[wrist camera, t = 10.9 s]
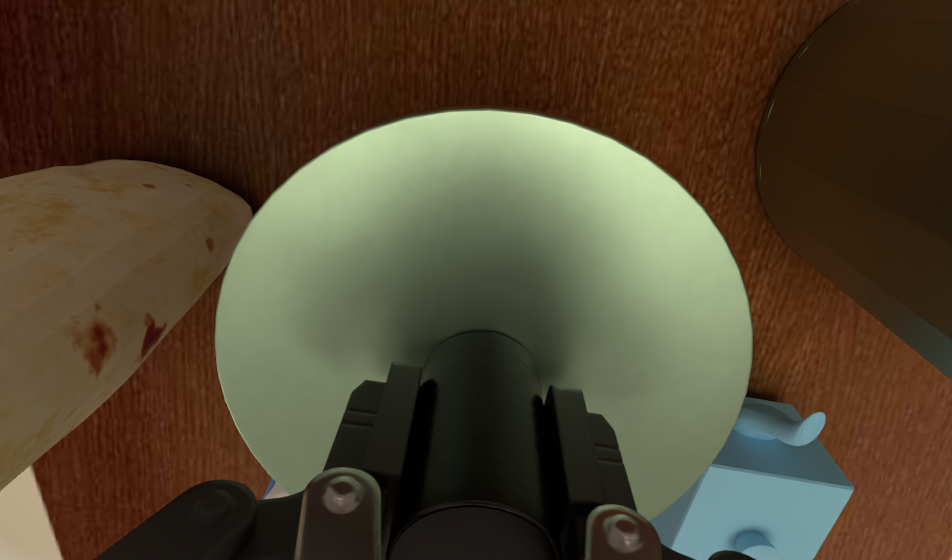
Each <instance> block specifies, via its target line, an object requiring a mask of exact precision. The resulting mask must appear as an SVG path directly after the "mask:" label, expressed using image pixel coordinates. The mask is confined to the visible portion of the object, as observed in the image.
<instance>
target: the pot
mask: <svg viewBox="0 0 952 560" xmlns="http://www.w3.org/2000/svg"><path fill="white" fill-rule="evenodd" d="M756 175H757V184H758V190H759V193H760V197H761V200H762V204H763V206H764V209H765V211H766V213H767V215H768V217H769V220H770V221H771V223H772V224H773V226H774V227H775V229H776V230H777V232H778V233H779V234H780V235H781V236H782V238H783V240H784V242H785V243H786V245H788V247H789V248H791V249H792V250H793V251H794V252H796V253H797V254H798V255H799V256H800V257H802V258H803V259H804V260H805V261H806V262H808V263H809V264H810V265H811V266H813V267H814V268H815V269H816V270H817V271H819V272H820V273H821V274H822V275H824V276H825V277H826V278H827V279H828V280H830V281H831V282H832V283H833V284H835V285H836V286H837V287H838V288H839V289H841V290H842V291H843V292H844V293H846V294H847V295H848V296H849V297H850V298H852V299H853V300H854V301H855V302H857V303H858V304H859V305H860V306H861V307H863V308H864V309H865V310H866V311H868V312H869V313H870V314H871V315H872V316H874V317H875V318H876V319H877V320H879V321H880V322H881V323H882V324H883V325H885V326H886V327H887V328H888V329H890V330H891V331H892V332H893V333H894V334H896V335H897V336H898V337H899V338H901V339H902V340H903V341H904V342H905V343H907V344H908V345H909V346H910V347H911V348H913V349H914V350H915V351H916V352H918V353H919V354H920V355H921V356H922V357H924V358H925V359H926V360H927V361H929V362H930V363H931V364H932V365H933V366H935V367H936V368H937V369H938V370H940V371H941V372H942V373H943V374H944V375H946V376H947V377H948V378H949V379H951V380H952V0H851V1H850V2H849V3H847V4H846V5H845V6H843V7H842V8H841V9H839V10H838V11H837V12H835V13H834V14H833V15H832V16H831V17H830V18H829V19H828V20H826V21H825V22H824V23H823V24H822V25H821V26H820V27H819V28H818V29H817V30H816V31H815V32H814V33H813V34H812V35H811V36H810V38H809V39H808V40H807V41H806V42H805V43H804V44H803V45H802V47H801V48H800V49H799V50H798V52H797V53H796V54H795V56H794V57H793V59H792V60H791V61H790V63H789V64H788V66H787V67H786V68H785V70H784V72H783V74H782V76H781V77H780V79H779V81H778V83H777V84H776V86H775V88H774V90H773V93H772V95H771V97H770V100H769V102H768V104H767V107H766V109H765V112H764V116H763V119H762V123H761V126H760V130H759V136H758V142H757V148H756Z"/></svg>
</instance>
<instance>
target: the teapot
mask: <svg viewBox="0 0 952 560" xmlns="http://www.w3.org/2000/svg"><path fill="white" fill-rule="evenodd" d="M825 420H826V416H825V414H824V413H822V412H816V413H813V414H811V415H810V416H808V417H806V418H805V419H804V420H803V418H802V417H801V416H800V414H799V413H798V412H797V410H796V409H795V408H794V406H793V405H790V404H784V403H778V402H773V401H767V400H761V399H755V398H749V397H745V399H744V401H743V404H742V407H741V410H740V413H739V416H738V419H737V421H736V423H735V425H734V427H733V429H732V431H731V433H730V435H729V437H728V439H727V441H726V442H725V444H724V446H723V447H722V449H721V450H720V452H719V453H718V455H717V456H716V458H715V459H714V460H713V462H712V463H711V465H710V466H709V468H708V469H707V470H706V471H705V472H704V473H703V475H702V476H701V477H700V478H699V479H698V480H697V481H696V482H695V483H694V484H693V486H692V487H691V488H690V489H689V490H688V491H687V492H686V493H685V494H683V495H682V496H681V497H680V498H679V499H678V500H676V501H675V502H674V503H673V504H672V505H671V506H670V507H668V508H667V509H666V510H665V511H663V512H662V513H660V514H659V515H657V516H656V517H654V518H653V519H651V520H650V521H649V522H650V523H651V524H652V525H653V527H654V528H655V530H656V531H657V533H658V535H659V538H660V542H661V543H662V544H663V545H665V546H667V547H668V548H670V549H672V550H674V551H676V552H678V553H681V554H683V555H686V556H688V557H691V558H693V559H696V560H708V559H709V557H710V556H711V555H712V554H714V553H715V552H718V551H723V550H731V551H737V552H740V553H743V554H746V555H748V556H750V557H752V558H754V559H756V560H813V558H814V556H815V555H816V553H817V551H818V550H819V548H820V547H821V545H822V543H823V542H824V540H825V538H826V537H827V535H828V533H829V532H830V530H831V528H832V527H833V525H834V523H835V522H836V520H837V518H838V517H839V515H840V513H841V511H842V510H843V508H844V506H845V505H846V503H847V501H848V500H849V498H850V496H851V494H852V492H853V490H854V487H853V485H852V484H851V483H850V481H849V480H848V479H847V477H846V476H845V475H844V473H843V472H842V471H841V469H840V468H839V466H838V465H837V464H836V462H835V461H834V460H833V458H832V457H831V456H830V454H829V453H828V452H827V450H826V449H825V448H824V446H823V445H822V444H821V442H820V441H819V440H818V438H817V436H818V435H819V433H820V432H821V430H822V429H823V427H824V424H825Z"/></svg>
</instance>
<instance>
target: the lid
mask: <svg viewBox="0 0 952 560" xmlns="http://www.w3.org/2000/svg"><path fill="white" fill-rule="evenodd" d="M214 343H215V352H216V361H217V370H218V375H219V379H220V382H221V386H222V390H223V394H224V398H225V401H226V403H227V406H228V408H229V410H230V413H231V415H232V417H233V420H234V422H235V424H236V427H237V429H238V430H239V432H240V434H241V435H242V437H243V439H244V440H245V442H246V444H247V445H248V447H249V449H250V450H251V452H252V453H253V455H254V456H255V457H256V458H257V460H258V461H259V462H260V464H261V465H262V466H263V467H264V469H265V470H266V471H267V473H268V474H269V475H270V476H271V477H272V478H273V479H274V480H275V481H276V482H277V483H278V484H279V485H280V486H281V487H282V488H283V489H284V490H285V491H286V492H287V493H288V494H289V495H293V494H296V493H298V492H301V491H303V490H304V489H305V488H306V486H307V484H308V483H309V482H310V481H311V480H312V479H313V478H314V477H315V476H317V475H318V474H320V473H322V471H323V469H324V466H325V464H326V461H327V458H328V456H329V453H330V450H331V447H332V445H333V442H334V439H335V436H336V434H337V431H338V428H339V425H340V423H341V420H342V417H343V415H344V412H345V410H346V406H347V404H348V401H349V398H350V395H351V393H352V391H353V390H354V389H356V388H357V387H358V386H359V385H360V384H361V383H363V382H364V381H365V380H371V381H378V382H385V383H386V380H387V377H388V373H389V370H390V366H391V363H392V362H398V363H405V364H411V365H418V366H423V367H422V375H421V382H420V389H419V394H418V399H417V404H416V409H415V415H414V420H413V425H412V430H411V435H410V441H409V446H408V451H407V456H406V461H405V467H404V472H403V477H402V482H401V487H400V493H399V498H398V503H397V508H396V511H395V513H394V516H393V521H392V525H391V531H390V536H389V541H388V546H387V551H386V560H563V557H562V549H561V541H560V533H559V525H558V517H557V509H556V501H555V493H554V485H553V476H552V468H551V460H550V452H549V444H548V436H547V428H546V420H545V412H544V403H545V399H546V395H547V391H548V388H549V386H550V385H553V386H559V387H566V388H573V389H580V390H582V392H583V396H584V400H585V404H586V409H587V412H589V413H596V414H602V416H603V417H604V418H605V419H606V420H607V422H608V423H609V424H610V425H611V427H612V428H613V429H614V431H615V434H616V438H617V441H618V445H619V450H620V452H621V455H622V459H623V464H624V466H625V469H626V473H627V476H628V480H629V483H630V487H631V491H632V494H633V498H634V501H635V505H636V508H637V512H638V513H639V514H641V515H642V516H643V517H645V518H646V519H647V520H648V521H650V520H651V519H653V518H654V517H656V516H657V515H659V514H660V513H662V512H663V511H665V510H666V509H667V508H668V507H670V506H671V505H672V504H673V503H674V502H675V501H676V500H678V499H679V498H680V497H681V496H682V495H683V494H685V493H686V492H687V491H688V490H689V489H690V488H691V487H692V486H693V484H694V483H695V482H696V481H697V480H698V479H699V478H700V477H701V476H702V475H703V473H704V472H705V471H706V470H707V469H708V468H709V466H710V465H711V463H712V462H713V460H714V459H715V458H716V456H717V455H718V453H719V452H720V450H721V449H722V447H723V446H724V444H725V442H726V441H727V439H728V437H729V435H730V433H731V431H732V429H733V427H734V425H735V423H736V421H737V419H738V416H739V413H740V410H741V407H742V404H743V401H744V399H745V396H746V393H747V389H748V383H749V378H750V372H751V367H752V360H753V324H752V317H751V310H750V302H749V297H748V293H747V290H746V287H745V284H744V280H743V277H742V274H741V270H740V267H739V265H738V263H737V261H736V259H735V257H734V255H733V253H732V251H731V249H730V247H729V245H728V243H727V240H726V238H725V236H724V235H723V233H722V232H721V231H720V229H719V228H718V226H717V225H716V223H715V222H714V221H713V219H712V218H711V216H710V215H709V214H708V212H707V211H706V209H705V208H704V207H703V205H702V204H701V203H700V202H699V201H698V200H697V199H696V198H695V197H694V196H693V195H692V194H691V193H690V192H689V191H688V190H687V189H686V188H685V187H684V186H683V185H682V184H681V183H680V182H679V181H678V180H677V179H676V178H675V177H674V176H673V175H672V174H671V173H669V172H668V171H667V170H665V169H664V168H663V167H661V166H660V165H659V164H658V163H656V162H655V161H654V160H652V159H651V158H650V157H648V156H647V155H646V154H645V153H643V152H642V151H640V150H638V149H636V148H634V147H633V146H631V145H629V144H627V143H626V142H624V141H622V140H620V139H618V138H617V137H615V136H613V135H611V134H609V133H607V132H605V131H602V130H600V129H597V128H594V127H592V126H589V125H587V124H584V123H581V122H579V121H576V120H574V119H571V118H567V117H563V116H559V115H554V114H550V113H546V112H542V111H537V110H533V109H526V108H516V107H505V106H495V105H476V106H450V107H443V108H437V109H432V110H426V111H420V112H415V113H409V114H405V115H402V116H399V117H396V118H393V119H390V120H387V121H384V122H381V123H377V124H374V125H371V126H369V127H367V128H365V129H363V130H361V131H358V132H356V133H354V134H352V135H350V136H348V137H346V138H344V139H342V140H340V141H338V142H336V143H334V144H333V145H331V146H330V147H328V148H327V149H325V150H324V151H322V152H321V153H319V154H318V155H316V156H315V157H313V158H312V159H310V160H309V161H308V162H306V163H305V164H303V165H302V166H301V167H300V168H299V169H297V170H296V171H295V172H294V173H293V174H292V175H291V176H290V177H289V178H288V179H287V180H285V181H284V182H283V183H282V184H281V185H280V186H279V187H278V188H277V189H276V190H275V191H274V192H272V194H271V195H270V196H269V197H268V199H267V200H266V201H265V202H264V204H263V205H262V206H261V207H260V209H259V210H258V211H257V212H256V214H255V215H254V216H253V217H252V219H251V220H250V221H249V223H248V225H247V227H246V228H245V230H244V232H243V234H242V235H241V237H240V239H239V241H238V242H237V244H236V246H235V248H234V249H233V252H232V255H231V257H230V260H229V263H228V265H227V268H226V271H225V273H224V276H223V279H222V282H221V287H220V292H219V297H218V302H217V307H216V315H215V339H214Z"/></svg>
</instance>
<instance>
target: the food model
mask: <svg viewBox="0 0 952 560" xmlns="http://www.w3.org/2000/svg"><path fill="white" fill-rule="evenodd" d="M252 217H253V215H252V210H251V207H250V206H249V205H248V204H247V203H246V202H245V201H244V200H243V199H242V198H241V197H240V196H238V195H236V194H234V193H233V192H231V191H230V190H228V189H226V188H224V187H222V186H221V185H219V184H217V183H215V182H213V181H211V180H209V179H206V178H203V177H200V176H198V175H195V174H192V173H190V172H187V171H184V170H182V169H178V168H174V167H170V166H166V165H163V164H159V163H154V162H147V161H134V160H120V159H111V160H97V161H92V162H88V163H85V164H83V165H80V166H58V167H52V168H47V169H42V170H38V171H33V172H29V173H24V174H20V175H16V176H11V177H7V178H3V179H0V491H1V490H2V489H3V488H4V487H5V486H6V485H8V484H9V483H10V482H11V481H12V480H13V479H15V478H16V477H17V476H18V475H19V474H20V473H22V472H23V471H24V470H25V469H26V468H28V467H29V466H30V465H31V464H32V463H33V462H35V461H36V460H37V459H38V458H39V457H40V456H42V455H43V454H44V453H45V452H46V451H47V450H49V449H50V448H51V447H52V446H53V445H55V444H56V443H57V442H58V441H60V440H61V439H62V438H63V437H64V436H66V435H67V434H68V433H69V432H71V431H72V430H73V429H74V428H75V427H77V426H78V425H79V424H80V423H81V422H83V421H84V420H85V419H86V418H87V417H88V416H89V415H91V414H92V413H93V412H94V411H95V410H96V409H97V408H98V407H99V406H100V405H101V404H102V403H104V402H105V401H106V400H107V399H108V398H109V397H110V396H111V395H112V394H113V393H114V392H115V391H116V390H117V389H118V388H119V387H120V386H121V385H122V384H123V383H124V382H125V381H126V380H127V379H128V378H129V377H130V376H131V375H132V374H133V373H134V372H135V371H136V370H137V369H138V368H139V366H140V365H141V364H142V363H143V362H144V360H145V359H146V358H147V357H148V356H149V354H150V353H151V352H152V351H153V350H154V348H155V347H156V346H157V345H158V344H159V343H160V341H161V340H162V339H163V338H164V337H165V336H166V335H167V334H168V333H169V331H170V330H171V329H172V328H173V327H174V326H175V325H176V324H177V322H178V321H179V320H180V319H181V318H182V317H183V316H184V315H185V314H186V313H187V312H188V310H189V309H190V308H191V307H192V306H193V305H194V304H195V303H196V302H197V300H198V299H199V298H200V297H201V296H202V294H203V293H204V292H205V291H206V290H207V288H208V287H209V286H210V285H211V284H212V282H213V281H214V280H215V279H216V278H217V277H218V275H219V274H220V273H221V272H222V271H223V270H224V268H225V267H226V266H227V264H228V263H229V260H230V257H231V255H232V252H233V249H234V248H235V246H236V244H237V242H238V241H239V239H240V237H241V235H242V234H243V232H244V230H245V228H246V227H247V225H248V223H249V221H250V220H251V219H252Z"/></svg>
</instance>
